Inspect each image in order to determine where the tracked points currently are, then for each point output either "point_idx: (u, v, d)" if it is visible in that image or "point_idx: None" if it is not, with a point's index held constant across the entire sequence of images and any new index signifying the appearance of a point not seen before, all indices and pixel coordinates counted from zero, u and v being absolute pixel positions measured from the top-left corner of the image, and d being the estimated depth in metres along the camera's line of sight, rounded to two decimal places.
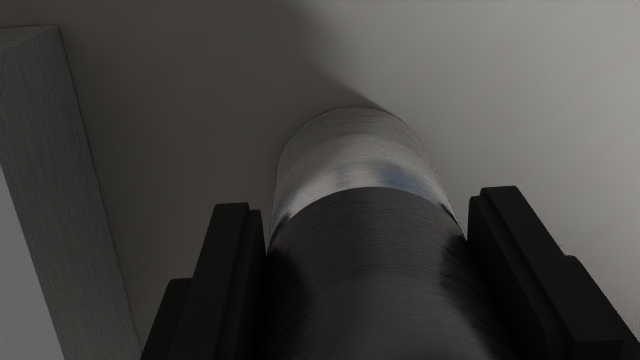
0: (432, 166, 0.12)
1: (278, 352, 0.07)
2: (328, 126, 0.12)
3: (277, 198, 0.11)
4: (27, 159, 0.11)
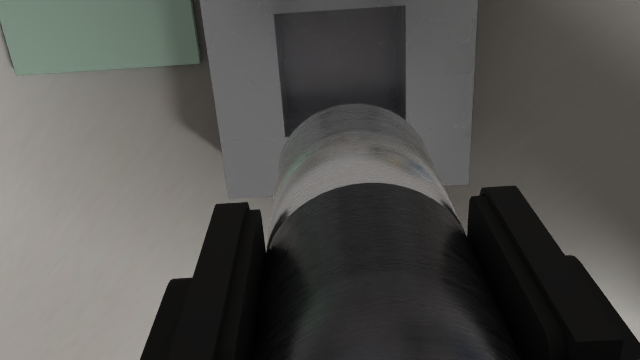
0: (432, 163, 0.12)
1: (277, 348, 0.07)
2: (328, 123, 0.12)
3: (277, 195, 0.11)
4: None
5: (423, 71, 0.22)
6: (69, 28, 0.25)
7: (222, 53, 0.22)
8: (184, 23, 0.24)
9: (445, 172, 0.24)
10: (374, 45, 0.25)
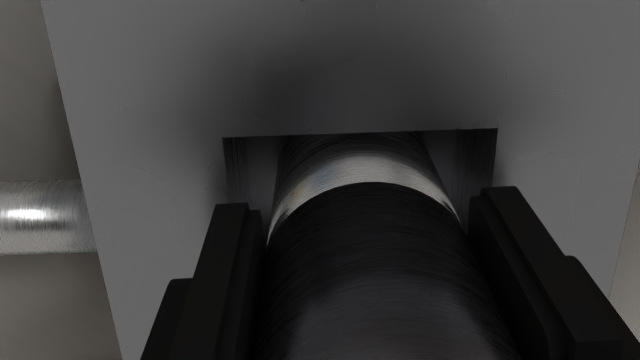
0: (432, 162, 0.12)
1: (277, 346, 0.07)
2: None
3: (277, 194, 0.11)
4: None
5: (365, 94, 0.10)
6: None
7: None
8: None
9: (631, 30, 0.09)
10: None
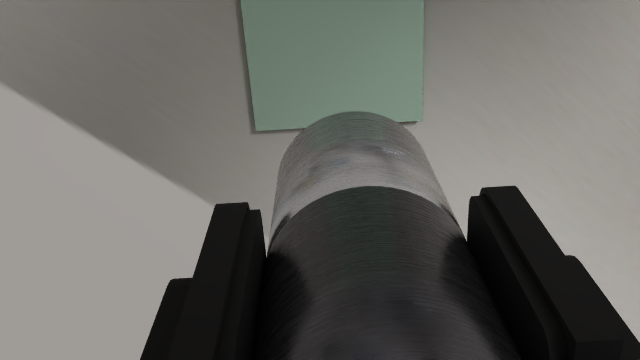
0: (432, 169, 0.12)
1: (277, 346, 0.07)
2: (328, 130, 0.12)
3: (277, 200, 0.11)
4: None
5: None
6: (383, 65, 0.27)
7: None
8: None
9: None
10: None
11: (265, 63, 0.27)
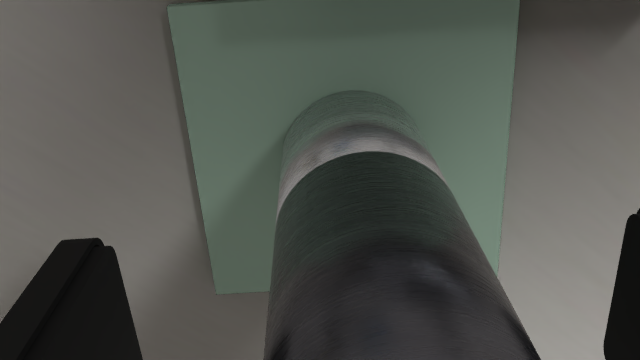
0: (425, 142, 0.13)
1: (293, 280, 0.08)
2: (330, 106, 0.13)
3: (284, 170, 0.12)
4: None
5: None
6: None
7: None
8: (442, 6, 0.13)
9: None
10: None
11: (230, 191, 0.15)
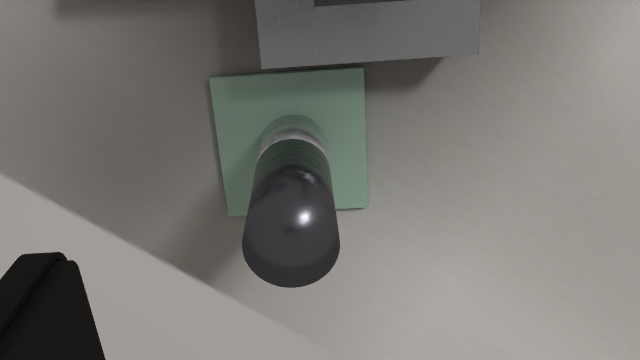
0: (322, 137, 0.30)
1: (259, 177, 0.25)
2: (280, 122, 0.30)
3: (260, 149, 0.29)
4: None
5: None
6: (333, 164, 0.32)
7: (345, 51, 0.27)
8: (330, 77, 0.30)
9: None
10: None
11: (235, 162, 0.32)
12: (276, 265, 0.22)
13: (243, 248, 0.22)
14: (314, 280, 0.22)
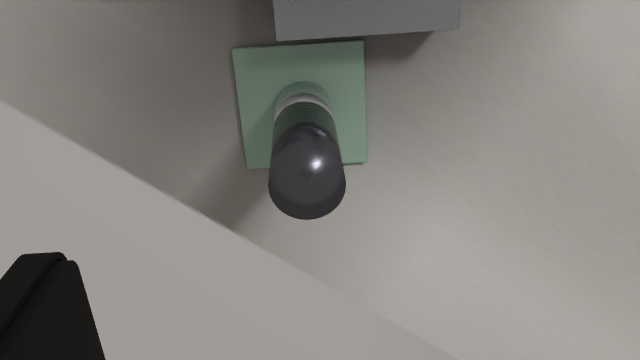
0: (328, 100, 0.36)
1: (278, 133, 0.30)
2: (292, 87, 0.36)
3: (275, 111, 0.35)
4: None
5: None
6: (337, 124, 0.38)
7: (347, 26, 0.32)
8: (335, 49, 0.36)
9: None
10: None
11: (253, 122, 0.38)
12: (295, 201, 0.28)
13: (269, 188, 0.27)
14: (326, 213, 0.28)
